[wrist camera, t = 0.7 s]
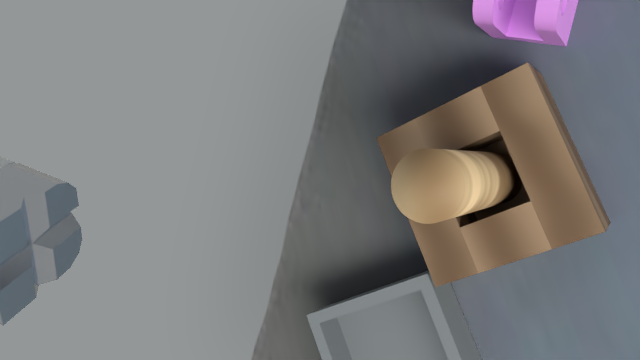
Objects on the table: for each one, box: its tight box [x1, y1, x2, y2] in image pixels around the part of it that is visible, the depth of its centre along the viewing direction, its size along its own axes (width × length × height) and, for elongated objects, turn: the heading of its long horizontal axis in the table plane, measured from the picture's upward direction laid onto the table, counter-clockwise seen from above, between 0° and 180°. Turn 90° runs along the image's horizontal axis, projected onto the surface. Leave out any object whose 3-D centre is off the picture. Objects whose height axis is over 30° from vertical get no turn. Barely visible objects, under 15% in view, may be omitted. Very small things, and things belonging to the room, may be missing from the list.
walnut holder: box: [376, 63, 610, 287], centre depth 42 cm, size 12×12×6 cm
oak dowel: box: [391, 148, 522, 224], centre depth 36 cm, size 4×4×16 cm
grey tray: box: [307, 271, 481, 360], centre depth 47 cm, size 12×12×4 cm
